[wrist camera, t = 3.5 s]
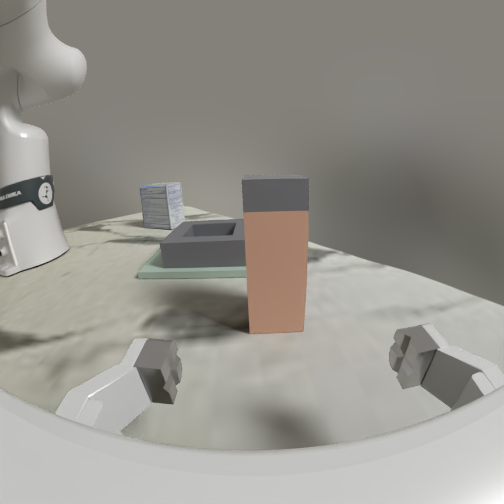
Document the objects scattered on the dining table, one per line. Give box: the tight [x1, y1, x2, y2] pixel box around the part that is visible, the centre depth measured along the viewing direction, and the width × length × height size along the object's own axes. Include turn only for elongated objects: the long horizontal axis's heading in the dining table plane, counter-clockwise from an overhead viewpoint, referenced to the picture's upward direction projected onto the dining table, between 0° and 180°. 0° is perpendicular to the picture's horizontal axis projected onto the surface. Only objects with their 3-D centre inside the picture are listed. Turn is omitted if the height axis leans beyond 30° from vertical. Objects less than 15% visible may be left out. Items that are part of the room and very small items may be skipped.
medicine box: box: [140, 182, 185, 229], centre depth 51 cm, size 8×4×9 cm, turn 65°
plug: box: [242, 174, 309, 334], centre depth 20 cm, size 4×4×11 cm
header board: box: [137, 219, 247, 279], centre depth 34 cm, size 16×12×4 cm
